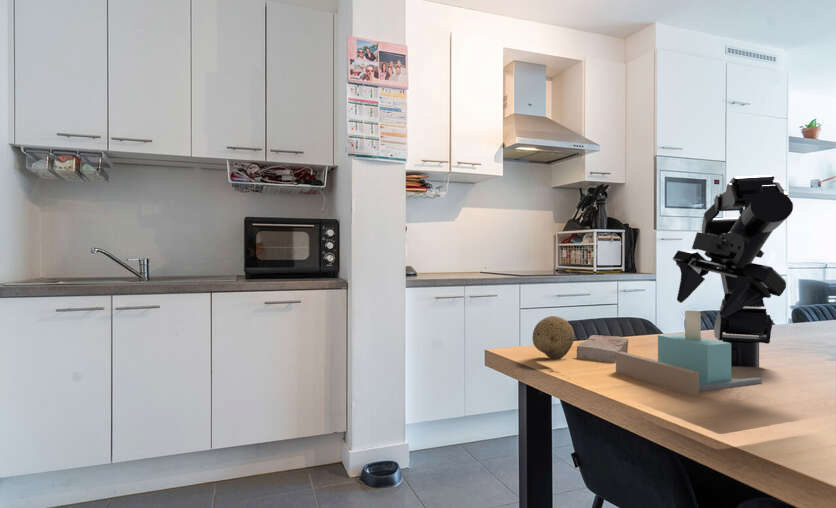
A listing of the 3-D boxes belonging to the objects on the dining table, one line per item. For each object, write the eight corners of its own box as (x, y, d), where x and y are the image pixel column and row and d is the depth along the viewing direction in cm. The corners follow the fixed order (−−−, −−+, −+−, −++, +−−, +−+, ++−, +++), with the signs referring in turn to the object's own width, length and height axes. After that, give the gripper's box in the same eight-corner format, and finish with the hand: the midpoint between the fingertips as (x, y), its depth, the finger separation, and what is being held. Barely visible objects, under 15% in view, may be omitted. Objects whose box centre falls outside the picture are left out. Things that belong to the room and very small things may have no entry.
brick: (616, 371, 92) (616, 348, 92) (574, 365, 97) (574, 344, 97) (628, 357, 106) (628, 337, 106) (591, 352, 111) (591, 333, 111)
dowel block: (680, 369, 86) (680, 307, 86) (731, 383, 77) (731, 314, 77) (657, 372, 85) (657, 308, 85) (707, 386, 75) (707, 315, 75)
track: (689, 371, 91) (689, 345, 91) (774, 394, 76) (774, 363, 76) (615, 379, 85) (615, 352, 85) (691, 406, 70) (691, 372, 70)
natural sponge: (554, 367, 94) (554, 319, 95) (523, 358, 102) (523, 315, 102) (582, 361, 99) (582, 317, 99) (551, 354, 107) (551, 312, 107)
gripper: (678, 210, 89) (635, 275, 89) (774, 219, 71) (720, 301, 71) (710, 239, 92) (669, 302, 92) (809, 256, 75) (758, 333, 75)
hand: (699, 308), depth 83 cm, fingers open, 9 cm apart
